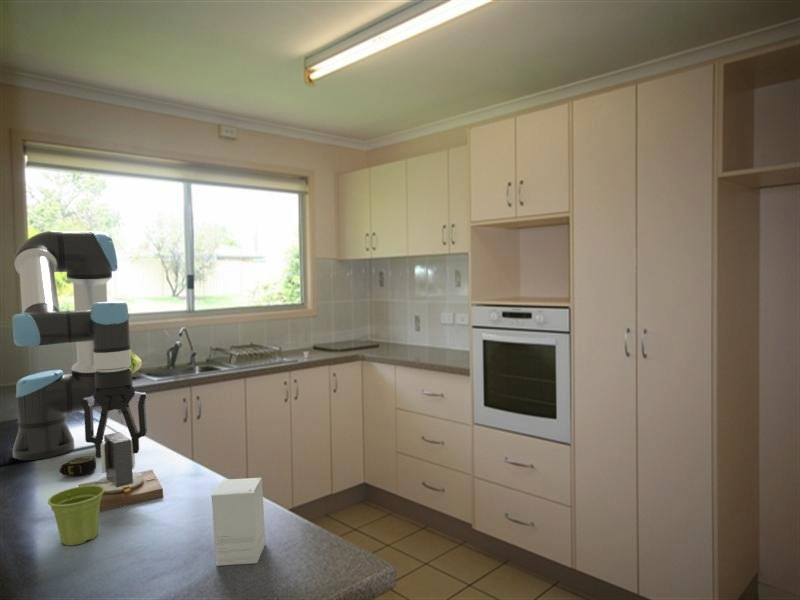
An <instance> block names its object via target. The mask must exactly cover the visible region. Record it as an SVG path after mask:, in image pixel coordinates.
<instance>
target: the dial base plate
mask: <svg viewBox="0 0 800 600" xmlns="http://www.w3.org/2000/svg"><path fill="white" fill-rule="evenodd" d="M137 473H141V474H143V478H144V482H143V483H142V484H141V485H140V486H138V487H137V488H134V489H132V490H130V491H127V492H121V493H114V494H102V499H101V501H100V509H99V511H101V512H104V511H103V510H105V511H108V510H107V509H109V510H112V508H114V509H117V508H116V507H118V508H121V507H120V506H122V507H125V506H124V505H127V506H130V504H131V505H134V504H138V503H143V502H147V501H152V500H156V499H159V498H160V499H161V498H164V489H163V485H161V483H160V481H159V479H158V477H157V476H156V473H155V472H154V470H153V469H148V470H144V471H143V470H142V471H138V472H137ZM97 481H98V480H95V481H89V482H85V483H80V484H77V485H78V486H77V487H80V486H88V485H95V483H96V482H97Z"/></svg>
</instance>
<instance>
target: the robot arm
mask: <svg viewBox="0 0 800 600" xmlns="http://www.w3.org/2000/svg"><path fill="white" fill-rule="evenodd" d="M14 269H15V270H16V272H17V274H18V275H19V280H20V283H19V284H20V296H21V299H20V300H21V313H15V314H14V315H12V333H13V335H12V336H13V337H12V338H13V343H14V345H16V346H18V347H39V346H46V345H47V346H48V345H50V346H51V345H57V344H58V345H59V344H69V343H75V344H76V345H75V346H76V347H75V348H76V362H75V363H74V364H73V365H72V366H71V373H65V374H64V371H63V370H62V369H54V370H46V371H40V372H37V373H34V374H30V375H27V376H24V377H22V378H20V379H19V380H18V381H17V382H16V387H15V388H16V389H15V390H16V394H15V398H16V401H17V402H16V403H17V404H16V405H17V422H18V432H17V433H16V434H17V435H16V437H15V442H14V444H13V447H12V458H13V459H14V458H15V459H14V460H16V459H18V460H17V461H35V460H36V461H37V460H42V459H49V458H53V457H56V456H61V455H63V454H65V453H68V452H69V453H70V452H71V451H72V450H73V449H75V439H74V437H73V435H72V432H71V430H70V428H69V426H68V424H67V419H66V417H67V416H66V414H71V413H79V412H84V413H83V415H84V416H83V417H84V437H85V439H84V440H85V442H86V443H87V444H88V443H89V444H90V443H92V444H94V446H95V457H96V458H97V459H100V460H101V462H100V463H101V473H102V474H105V473H106V471H107V470H108V458H107V441H104V435H105V431H106V426H107V421H108V418H109V413H110V411H113V410H117V411H118V410H119V411H120V412H121V413H122V416H123V418H124V421H125V425H126V426H127V430H128V432H129V436H130V438H129V439H130V440H131V456H132V470H134V469H135V467H136V455H135V454H138V453H139V451H140V438H143V437H145V436H146V435H147V433H148V427H147V426H148V425H147V412H146V401H147V397H148V393H147V392H145V391H144V392H139V391H136V389H135V388H134V386H133V374H132V370H131V369H130V368H129V366H131V353H130V350H131V345H130V344H131V341H130V321H129V320H130V319H129V318H130V313H129V309H128V307H129V306H128V303H127V302H125V301H118V300H117V301H108V291H107V288H108V287H107V285H108V284H107V283H108V282H109V281H110V280H111V279H112V278H113V272H116V271H117V270H118V259H117V253H116V248H115V244H114V242H113V238H112V237H111V235H110V234H109V233H107V232H103V231H93V230H91V231H89V230H87V231H84V230H83V231H73V230H72V231H71V230H70V231H69V230H67V231H66V230H65V231H62V230H61V231H57V230H50V231H49V230H48V231H44V232H40V233H38V234H35V235H33V236H31V237H30V238H28V239H26V240H25V241H24V242H23V243H22V244H21V245H20V246H19V247H18V248H17V251H16V252H15V255H14ZM55 273H66V278H67V280H68V281H70V282H71V283H72V285H73V287H72V288H73V303H74V304H73V305H74V310H63V311H60V305H59V298H58V297H59V296H58V290H57V284H56V276H55ZM133 398H135V402H137V403H138V404H137V410H138V412H137V413H138V424H139V431H138V428H137V425H136V423H135V419H134V417H133V413H132V411H131V407H130V402H131V401H132V399H133ZM94 410H100V416H99V417H100V418H99V421H98V425H97V429H96V430H97V431H96V434H94V431H95V430H94V429H95V428H94Z"/></svg>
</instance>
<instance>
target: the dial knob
mask: <svg viewBox="0 0 800 600" xmlns="http://www.w3.org/2000/svg"><path fill="white" fill-rule="evenodd" d="M103 441H107V458H108V470H107V471H106V472H105V473H106V474H105V475H106V476H104V477H103V478H100V479H98V480H96V481H97V482H96V483H95V486H101V487H103V488H104V493H103V494H114V493H121V492H127V491H130V490H132V489H134V488H137V487H138V486H140V485H141V484H142V483H143V482H144V478H143V474H141V473H138V472H137V471H135V472H133V469H132V456H131V440H130V438H128V437H127V436H126V435H124V434H123V432H121V431H118V432H114V433H107V434H104V436H103Z"/></svg>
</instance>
